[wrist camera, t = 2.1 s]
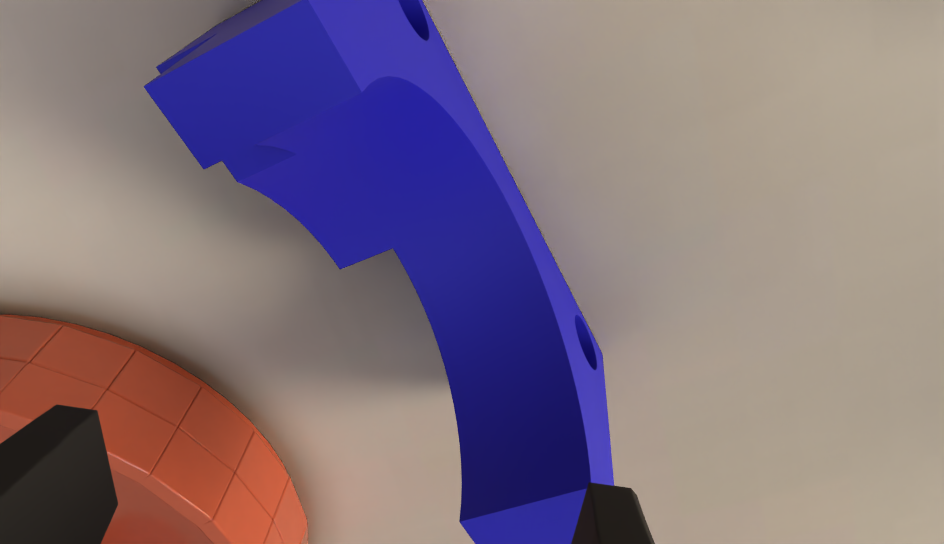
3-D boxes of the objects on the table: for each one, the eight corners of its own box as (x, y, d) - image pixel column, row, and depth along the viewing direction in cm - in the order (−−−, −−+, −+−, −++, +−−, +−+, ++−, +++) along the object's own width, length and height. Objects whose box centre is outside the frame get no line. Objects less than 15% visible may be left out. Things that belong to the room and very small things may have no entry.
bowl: (311, 345, 22) (267, 446, 18) (314, 654, 30) (284, 761, 27) (-230, 267, 22) (-372, 353, 19) (-74, 595, 31) (-151, 694, 27)
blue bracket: (215, 25, 17) (71, 125, 12) (386, -70, 15) (307, -3, 10) (458, 399, 22) (431, 578, 17) (602, 354, 21) (618, 533, 16)
